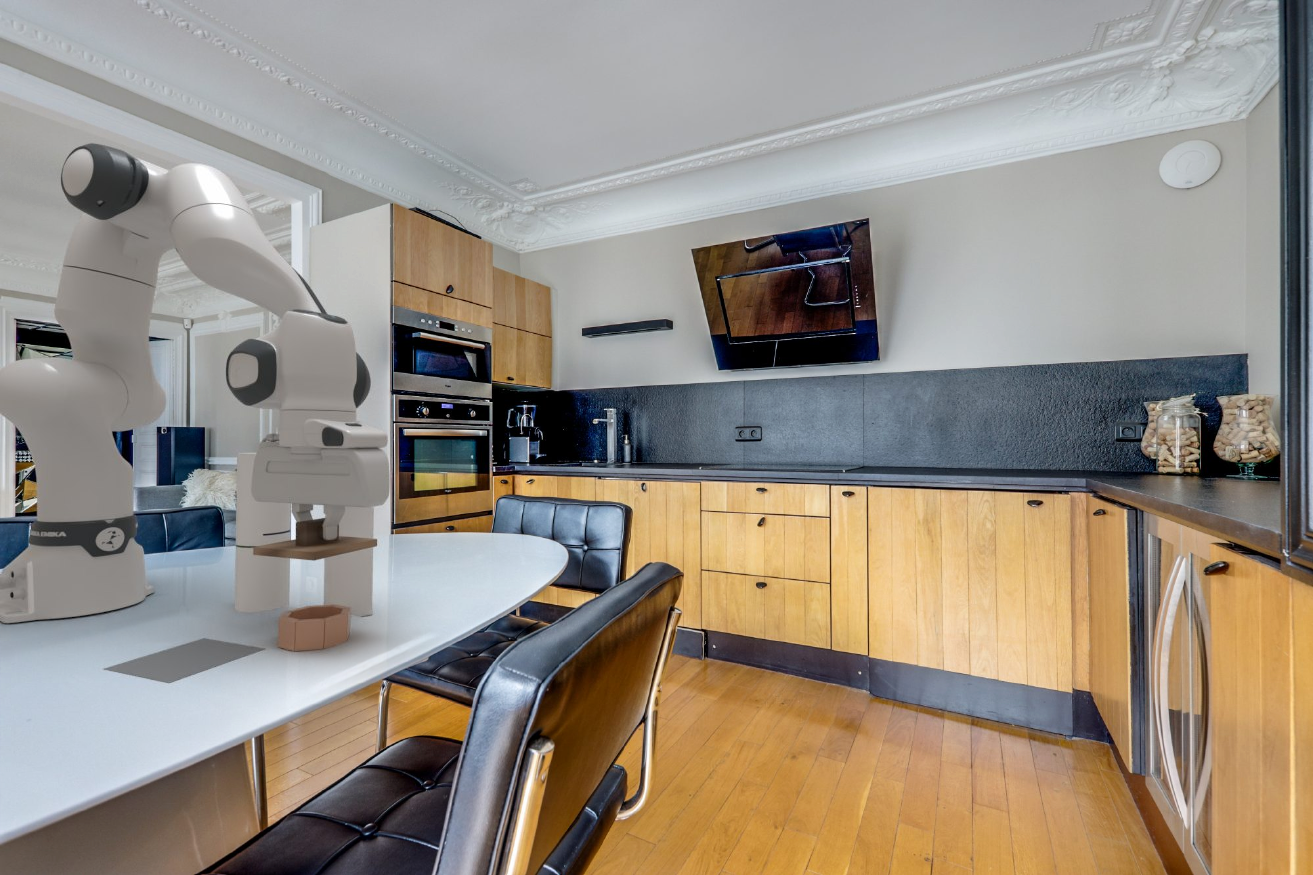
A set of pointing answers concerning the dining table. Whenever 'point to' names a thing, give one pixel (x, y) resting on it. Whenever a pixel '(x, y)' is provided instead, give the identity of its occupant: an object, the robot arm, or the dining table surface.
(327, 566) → the milk
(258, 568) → the cylindrical container
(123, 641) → the dining table surface
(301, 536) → the lid
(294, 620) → the bowl
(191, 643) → the mat
